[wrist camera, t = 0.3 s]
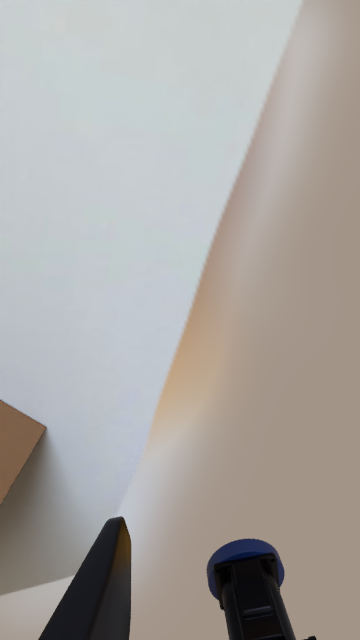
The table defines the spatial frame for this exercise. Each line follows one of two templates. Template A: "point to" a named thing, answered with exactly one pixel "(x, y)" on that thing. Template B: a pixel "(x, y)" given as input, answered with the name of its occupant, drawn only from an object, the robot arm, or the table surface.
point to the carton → (15, 444)
